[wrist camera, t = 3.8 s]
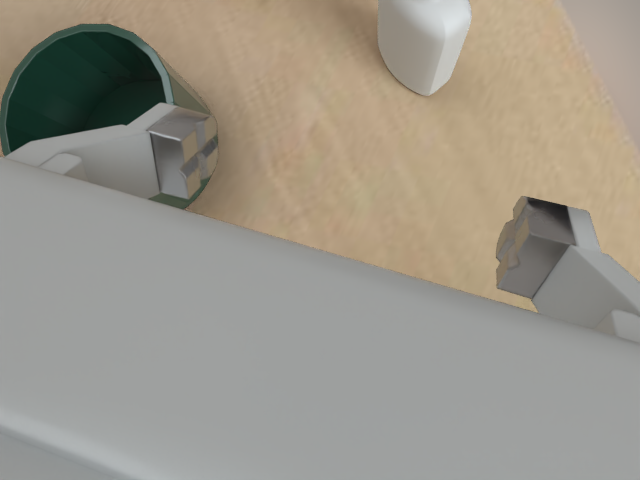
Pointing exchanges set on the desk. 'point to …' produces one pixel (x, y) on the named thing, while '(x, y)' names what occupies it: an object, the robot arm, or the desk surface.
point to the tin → (90, 89)
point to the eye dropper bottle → (422, 40)
